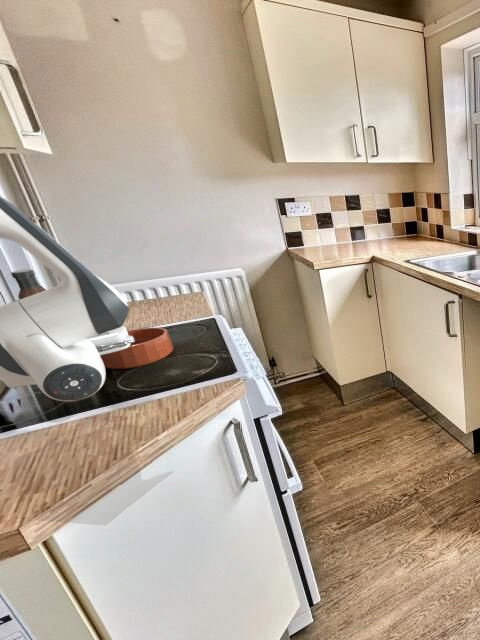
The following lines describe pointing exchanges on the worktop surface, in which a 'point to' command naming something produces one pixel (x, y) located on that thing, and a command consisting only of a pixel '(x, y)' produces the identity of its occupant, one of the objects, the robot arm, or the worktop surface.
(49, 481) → the worktop surface
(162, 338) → the bowl
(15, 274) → the sauce bottle
